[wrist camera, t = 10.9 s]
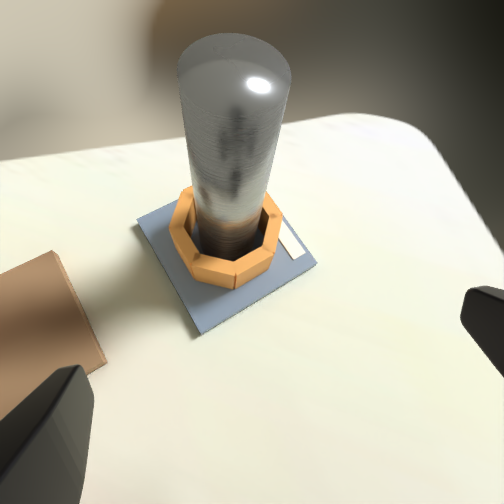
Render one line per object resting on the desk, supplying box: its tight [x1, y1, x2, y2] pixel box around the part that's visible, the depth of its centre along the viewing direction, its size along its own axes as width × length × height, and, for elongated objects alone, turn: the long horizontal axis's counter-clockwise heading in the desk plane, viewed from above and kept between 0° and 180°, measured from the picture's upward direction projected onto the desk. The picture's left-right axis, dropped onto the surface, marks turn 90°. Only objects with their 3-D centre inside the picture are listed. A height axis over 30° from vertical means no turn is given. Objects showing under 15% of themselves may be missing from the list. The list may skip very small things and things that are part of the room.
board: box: [0, 250, 108, 420], centre depth 19 cm, size 8×8×1 cm
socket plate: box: [136, 186, 317, 335], centre depth 21 cm, size 9×9×4 cm
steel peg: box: [177, 33, 291, 262], centre depth 16 cm, size 4×4×13 cm
